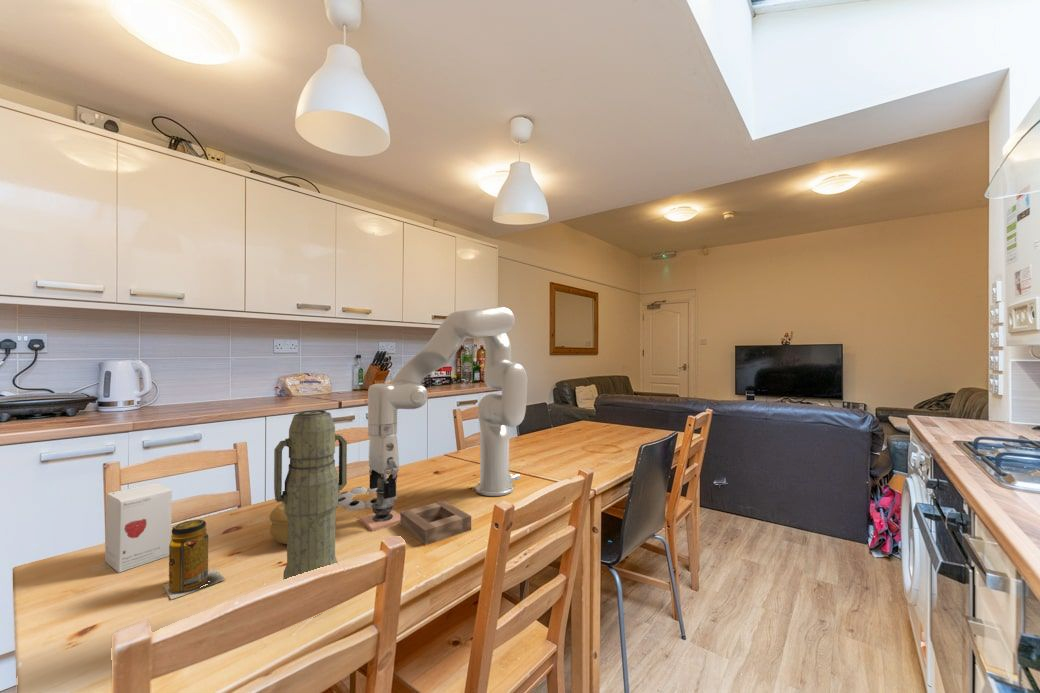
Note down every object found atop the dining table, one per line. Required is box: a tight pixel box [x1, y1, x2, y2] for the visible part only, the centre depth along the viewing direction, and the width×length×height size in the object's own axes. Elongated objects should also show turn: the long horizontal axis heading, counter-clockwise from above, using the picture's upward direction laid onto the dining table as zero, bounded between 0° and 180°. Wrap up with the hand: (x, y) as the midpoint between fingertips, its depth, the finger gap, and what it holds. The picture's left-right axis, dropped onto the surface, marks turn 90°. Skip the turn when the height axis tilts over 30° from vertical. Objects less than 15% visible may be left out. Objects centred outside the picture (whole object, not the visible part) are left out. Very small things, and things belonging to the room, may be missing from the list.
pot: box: [269, 502, 287, 545], centre depth 101 cm, size 12×12×10 cm
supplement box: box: [104, 482, 173, 573], centre depth 91 cm, size 9×9×15 cm
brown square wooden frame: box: [399, 500, 472, 546], centre depth 107 cm, size 13×14×4 cm
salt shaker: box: [371, 475, 395, 522], centre depth 111 cm, size 6×6×12 cm
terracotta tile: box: [359, 509, 400, 532], centre depth 111 cm, size 9×9×1 cm
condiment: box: [162, 519, 226, 600], centre depth 82 cm, size 7×8×12 cm
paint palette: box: [337, 486, 399, 511], centre depth 128 cm, size 20×20×2 cm
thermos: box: [273, 409, 348, 580], centre depth 75 cm, size 9×12×35 cm
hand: (382, 492), depth 111 cm, fingers open, 9 cm apart
